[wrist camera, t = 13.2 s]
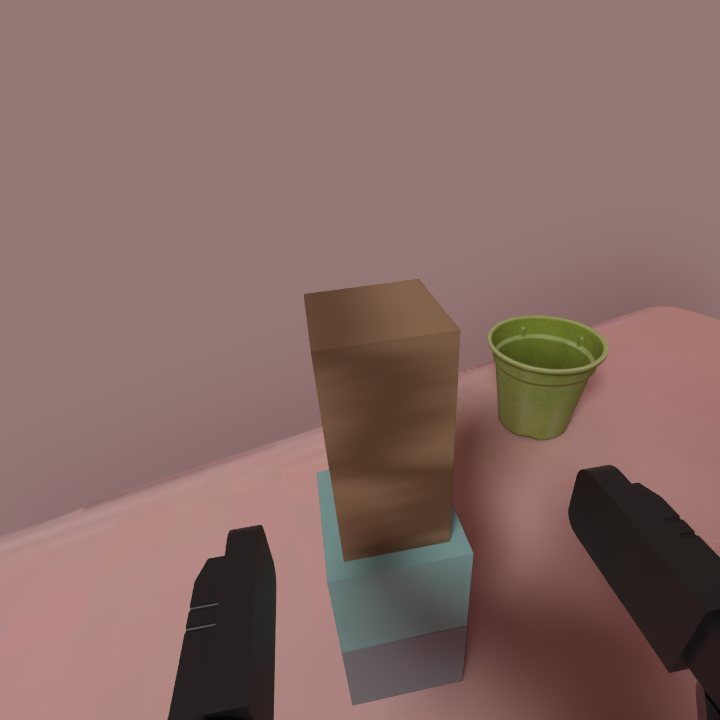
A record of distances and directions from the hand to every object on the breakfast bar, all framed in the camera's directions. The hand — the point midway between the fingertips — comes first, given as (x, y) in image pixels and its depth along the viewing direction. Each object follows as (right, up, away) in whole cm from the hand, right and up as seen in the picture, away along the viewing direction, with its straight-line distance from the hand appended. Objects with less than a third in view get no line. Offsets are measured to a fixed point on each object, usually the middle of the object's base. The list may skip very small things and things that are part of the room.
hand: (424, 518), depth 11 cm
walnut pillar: (0, -3, +9) cm, 9 cm away
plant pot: (+15, -2, +30) cm, 33 cm away
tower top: (0, -8, +12) cm, 14 cm away
